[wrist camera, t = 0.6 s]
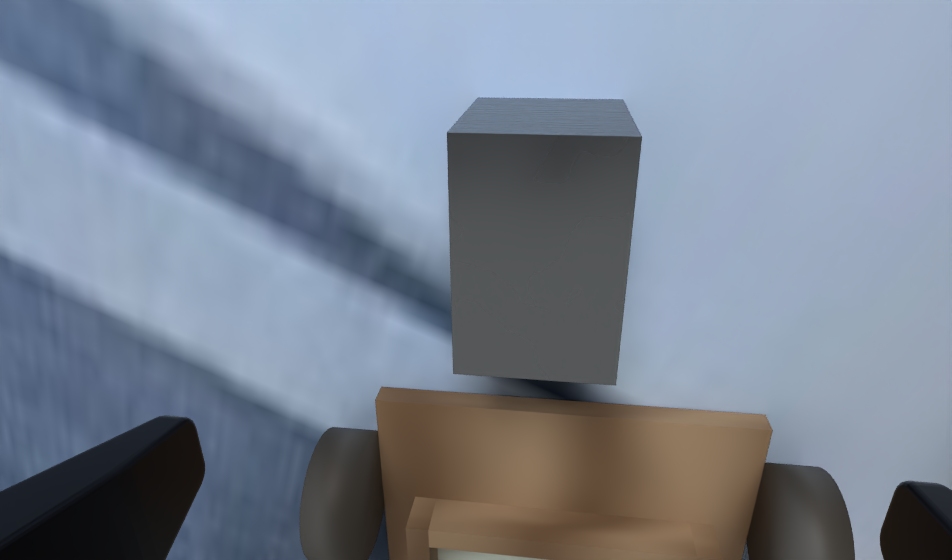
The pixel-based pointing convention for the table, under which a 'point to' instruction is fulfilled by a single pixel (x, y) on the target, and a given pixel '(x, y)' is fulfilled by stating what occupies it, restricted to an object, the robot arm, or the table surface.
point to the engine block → (541, 236)
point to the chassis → (563, 485)
